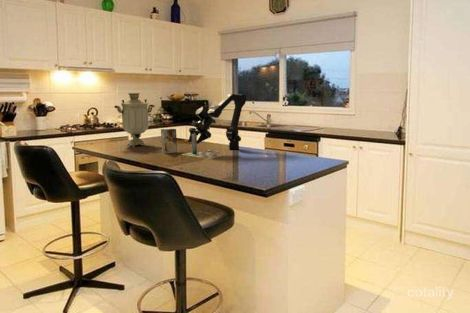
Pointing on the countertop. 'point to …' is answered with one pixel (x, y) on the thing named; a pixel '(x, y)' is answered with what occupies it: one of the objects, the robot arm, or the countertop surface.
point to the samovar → (135, 117)
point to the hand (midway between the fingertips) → (192, 142)
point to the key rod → (194, 144)
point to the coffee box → (169, 140)
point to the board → (205, 154)
